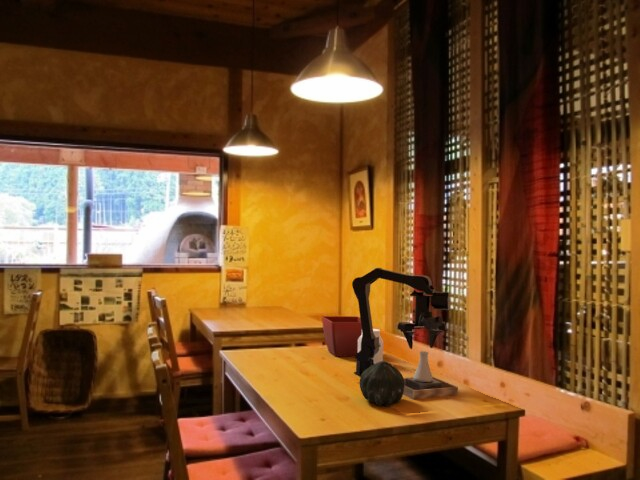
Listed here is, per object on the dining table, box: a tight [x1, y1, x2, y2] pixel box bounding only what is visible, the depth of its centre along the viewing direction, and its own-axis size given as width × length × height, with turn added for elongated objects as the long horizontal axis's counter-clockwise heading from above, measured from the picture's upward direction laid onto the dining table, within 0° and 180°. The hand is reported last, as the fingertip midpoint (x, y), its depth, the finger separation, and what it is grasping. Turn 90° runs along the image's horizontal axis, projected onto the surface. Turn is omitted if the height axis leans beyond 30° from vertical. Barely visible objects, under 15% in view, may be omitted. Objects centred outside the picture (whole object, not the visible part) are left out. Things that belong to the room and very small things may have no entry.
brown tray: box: [403, 376, 459, 401], centre depth 191 cm, size 18×16×4 cm
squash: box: [359, 360, 405, 407], centre depth 178 cm, size 14×15×15 cm
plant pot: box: [321, 315, 362, 357], centre depth 257 cm, size 19×19×17 cm
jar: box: [358, 328, 384, 364], centre depth 237 cm, size 12×10×15 cm
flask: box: [412, 350, 434, 382], centre depth 191 cm, size 7×7×10 cm
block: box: [405, 376, 441, 390], centre depth 191 cm, size 9×9×4 cm
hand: (421, 348), depth 207 cm, fingers open, 9 cm apart
